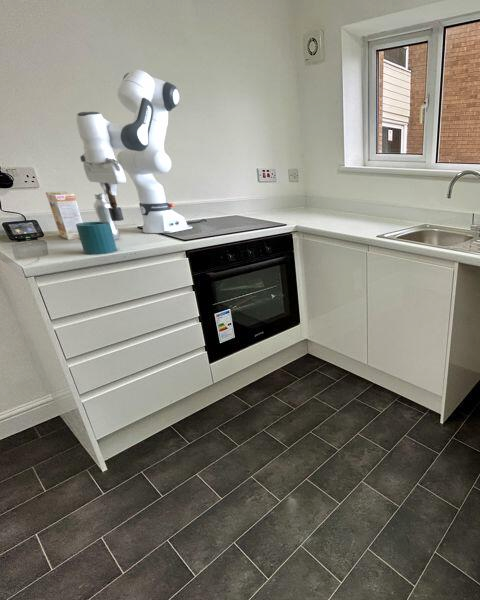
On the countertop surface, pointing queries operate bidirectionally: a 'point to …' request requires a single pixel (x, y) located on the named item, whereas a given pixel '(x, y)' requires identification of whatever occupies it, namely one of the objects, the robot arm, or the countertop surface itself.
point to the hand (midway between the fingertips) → (111, 194)
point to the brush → (113, 206)
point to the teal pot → (96, 237)
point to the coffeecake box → (65, 213)
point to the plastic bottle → (105, 213)
